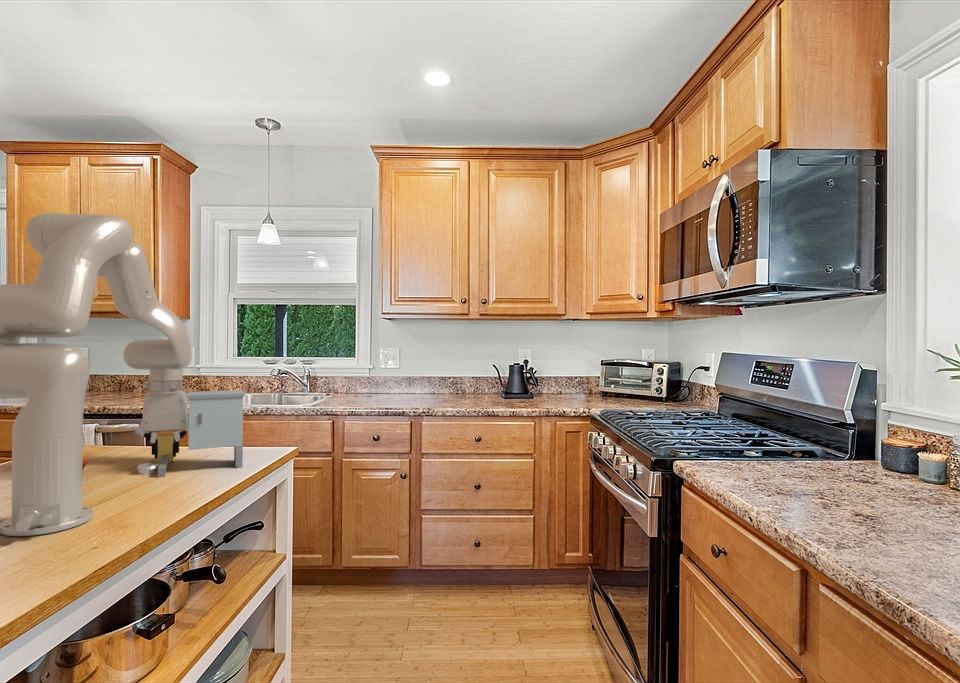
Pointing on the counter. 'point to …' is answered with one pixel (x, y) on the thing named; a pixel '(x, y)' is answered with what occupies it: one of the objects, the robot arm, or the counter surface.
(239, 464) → the cabinet
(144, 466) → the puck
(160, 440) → the blade tool
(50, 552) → the counter surface
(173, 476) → the counter surface
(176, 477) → the counter surface
